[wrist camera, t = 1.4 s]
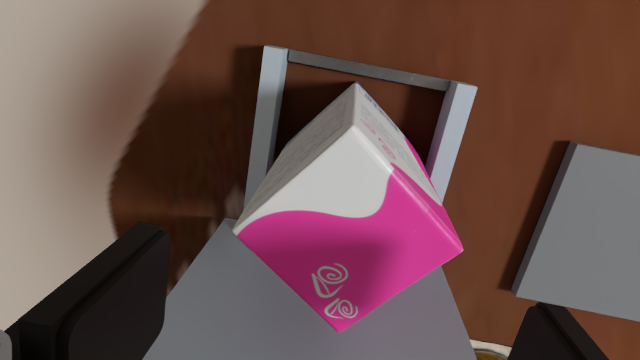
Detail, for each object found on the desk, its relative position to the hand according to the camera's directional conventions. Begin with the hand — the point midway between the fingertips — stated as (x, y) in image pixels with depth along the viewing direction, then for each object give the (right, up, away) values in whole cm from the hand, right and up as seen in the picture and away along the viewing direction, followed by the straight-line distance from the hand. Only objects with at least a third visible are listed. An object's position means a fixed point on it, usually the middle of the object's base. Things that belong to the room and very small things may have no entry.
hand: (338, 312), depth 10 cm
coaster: (+18, 0, +14) cm, 23 cm away
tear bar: (+2, +9, +12) cm, 16 cm away
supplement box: (+1, +5, +14) cm, 15 cm away
